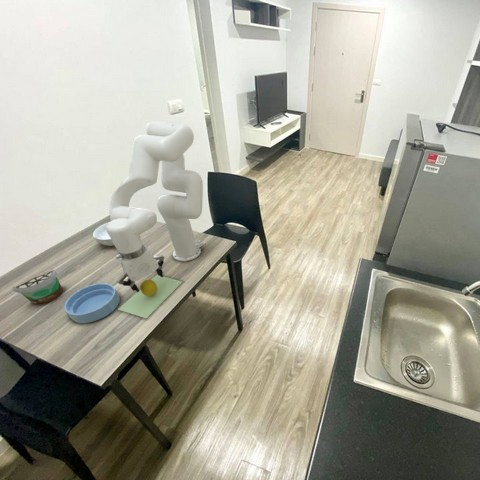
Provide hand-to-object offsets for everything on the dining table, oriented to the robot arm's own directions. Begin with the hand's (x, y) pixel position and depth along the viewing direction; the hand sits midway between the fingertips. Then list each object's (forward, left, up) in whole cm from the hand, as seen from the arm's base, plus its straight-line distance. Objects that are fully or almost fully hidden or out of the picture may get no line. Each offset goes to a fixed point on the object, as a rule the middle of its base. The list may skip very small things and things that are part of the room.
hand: (149, 282), depth 104 cm
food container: (+29, -23, -6) cm, 38 cm away
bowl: (+18, -7, -6) cm, 20 cm away
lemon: (+1, +1, -6) cm, 6 cm away
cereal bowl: (-1, -47, -6) cm, 48 cm away
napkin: (+1, +1, -6) cm, 6 cm away
